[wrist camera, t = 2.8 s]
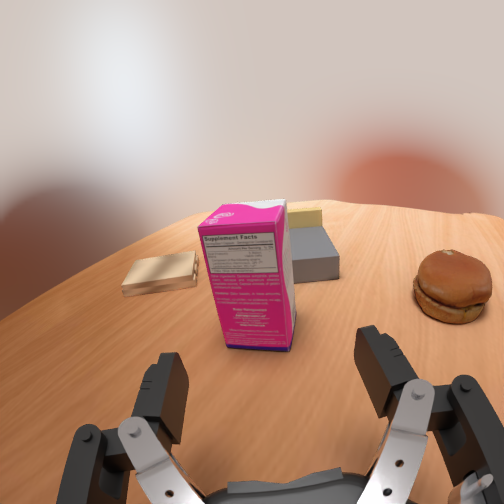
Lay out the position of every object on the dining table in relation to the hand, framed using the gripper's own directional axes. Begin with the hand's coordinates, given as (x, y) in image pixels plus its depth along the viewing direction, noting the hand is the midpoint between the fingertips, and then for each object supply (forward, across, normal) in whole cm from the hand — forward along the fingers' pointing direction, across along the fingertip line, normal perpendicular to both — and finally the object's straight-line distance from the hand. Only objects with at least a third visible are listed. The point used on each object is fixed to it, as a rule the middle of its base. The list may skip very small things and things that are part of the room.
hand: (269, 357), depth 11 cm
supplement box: (+11, 0, +8) cm, 14 cm away
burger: (+10, -20, +8) cm, 24 cm away
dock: (+25, -3, +8) cm, 26 cm away
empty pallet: (+25, +13, +8) cm, 29 cm away
